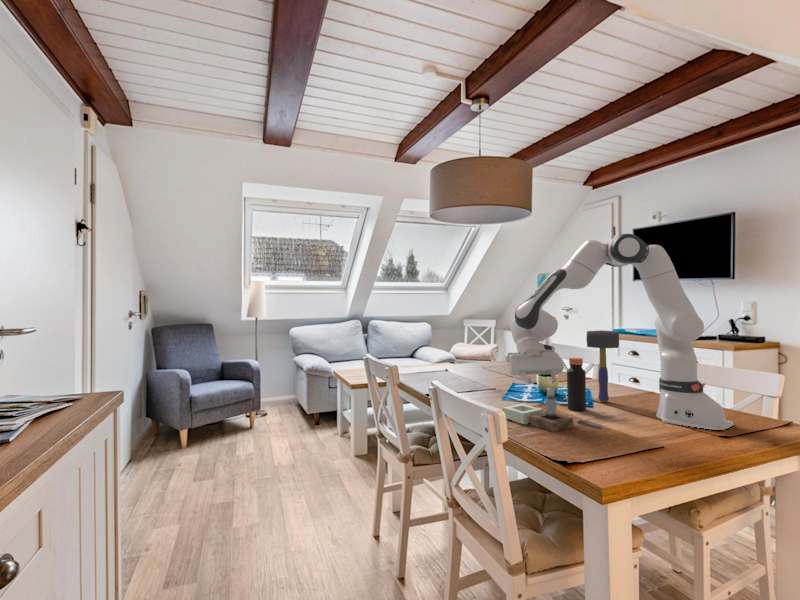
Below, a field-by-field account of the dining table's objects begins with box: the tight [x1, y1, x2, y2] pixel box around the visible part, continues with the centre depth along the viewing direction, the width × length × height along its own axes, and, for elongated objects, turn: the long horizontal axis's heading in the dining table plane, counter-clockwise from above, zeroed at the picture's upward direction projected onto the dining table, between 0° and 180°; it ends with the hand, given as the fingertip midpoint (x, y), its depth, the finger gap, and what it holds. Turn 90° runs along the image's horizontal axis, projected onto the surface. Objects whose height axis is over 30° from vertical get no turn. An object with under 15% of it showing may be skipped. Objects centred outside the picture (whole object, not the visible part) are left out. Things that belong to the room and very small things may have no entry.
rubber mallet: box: [586, 330, 620, 403], centre depth 180 cm, size 12×8×30 cm, turn 66°
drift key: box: [576, 419, 603, 430], centre depth 148 cm, size 8×2×1 cm, turn 32°
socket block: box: [529, 412, 574, 433], centre depth 148 cm, size 10×10×3 cm
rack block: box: [502, 403, 544, 425], centre depth 156 cm, size 10×10×4 cm
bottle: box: [566, 357, 587, 412], centre depth 169 cm, size 7×7×20 cm
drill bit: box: [545, 387, 557, 420], centre depth 148 cm, size 3×3×13 cm
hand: (541, 382), depth 155 cm, fingers open, 8 cm apart
